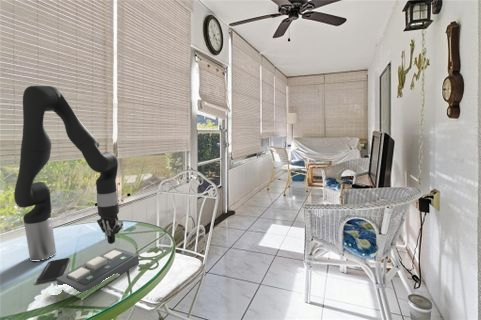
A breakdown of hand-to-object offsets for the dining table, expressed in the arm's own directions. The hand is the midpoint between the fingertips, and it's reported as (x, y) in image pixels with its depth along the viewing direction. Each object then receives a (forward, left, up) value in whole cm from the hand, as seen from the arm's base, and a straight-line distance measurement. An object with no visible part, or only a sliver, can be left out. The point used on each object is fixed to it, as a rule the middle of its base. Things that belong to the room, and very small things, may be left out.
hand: (111, 242), depth 105 cm
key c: (0, 0, -7) cm, 7 cm away
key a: (0, -14, -7) cm, 16 cm away
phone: (-18, -13, -10) cm, 24 cm away
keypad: (+2, -7, -10) cm, 12 cm away
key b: (0, -7, -7) cm, 10 cm away
